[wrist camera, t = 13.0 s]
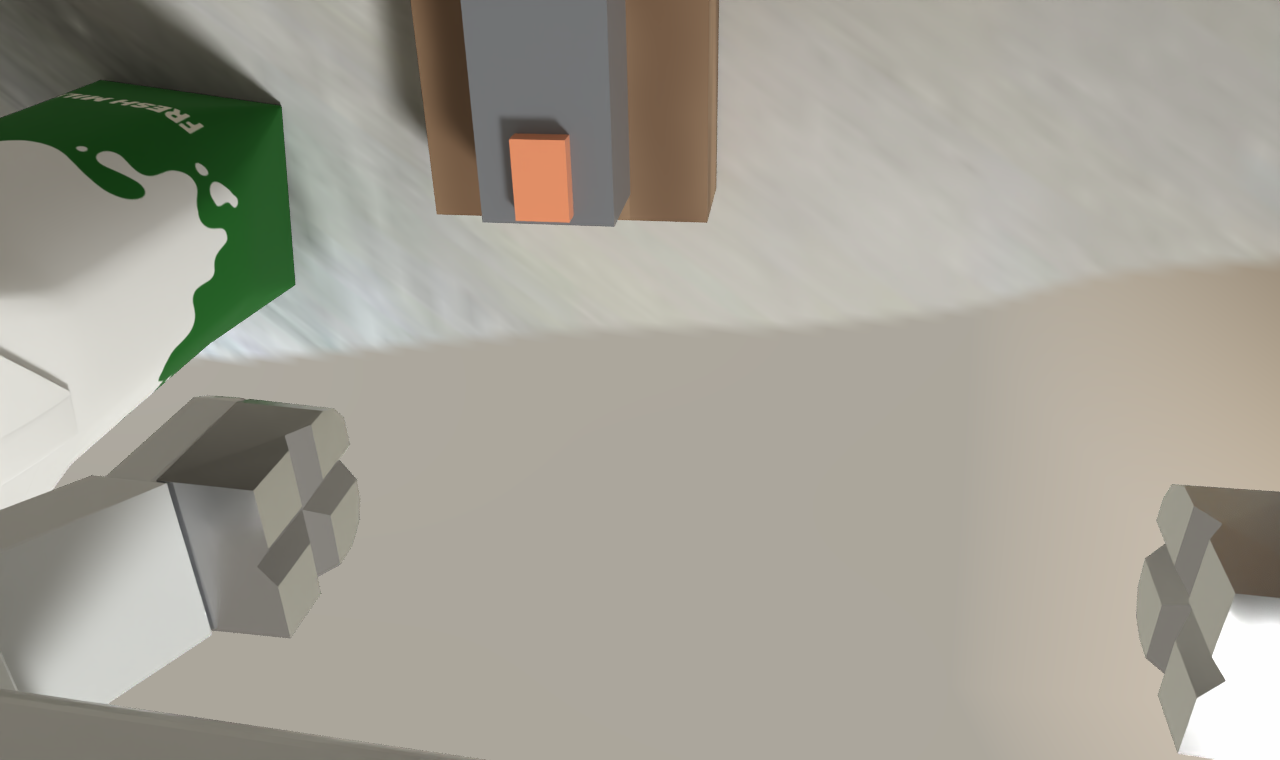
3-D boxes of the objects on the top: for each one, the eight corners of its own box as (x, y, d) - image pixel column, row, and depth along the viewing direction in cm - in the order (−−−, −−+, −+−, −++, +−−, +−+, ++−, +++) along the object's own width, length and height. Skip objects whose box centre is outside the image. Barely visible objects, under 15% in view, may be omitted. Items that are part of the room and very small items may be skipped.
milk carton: (305, 82, 36) (-167, 328, 19) (320, 311, 41) (-50, 681, 23) (72, 50, 37) (-590, 257, 19) (112, 278, 41) (-397, 613, 24)
